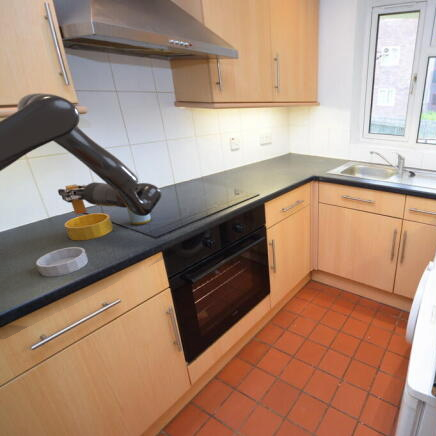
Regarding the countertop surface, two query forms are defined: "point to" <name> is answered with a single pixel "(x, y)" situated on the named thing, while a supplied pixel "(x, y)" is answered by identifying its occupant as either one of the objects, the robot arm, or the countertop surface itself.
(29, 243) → the countertop surface
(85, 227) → the yellow bowl
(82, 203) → the supplement box
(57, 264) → the gray bowl
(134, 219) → the bottle
